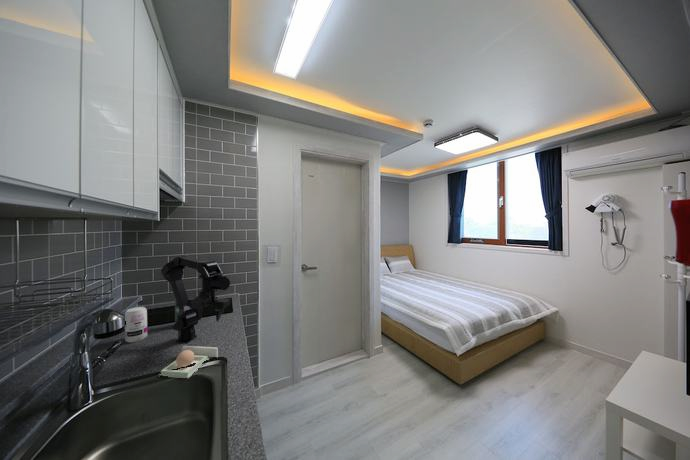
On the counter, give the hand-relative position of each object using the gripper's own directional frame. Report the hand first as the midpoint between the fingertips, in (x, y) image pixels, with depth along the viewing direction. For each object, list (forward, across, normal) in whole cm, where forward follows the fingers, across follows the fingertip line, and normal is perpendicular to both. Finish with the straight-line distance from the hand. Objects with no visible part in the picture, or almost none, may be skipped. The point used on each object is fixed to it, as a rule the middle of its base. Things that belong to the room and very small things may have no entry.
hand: (208, 320), depth 110 cm
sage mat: (+12, +3, -17) cm, 21 cm away
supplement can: (+12, -40, 0) cm, 42 cm away
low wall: (+12, +3, -9) cm, 15 cm away
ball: (+11, +3, -17) cm, 21 cm away
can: (+12, -30, +18) cm, 37 cm away
